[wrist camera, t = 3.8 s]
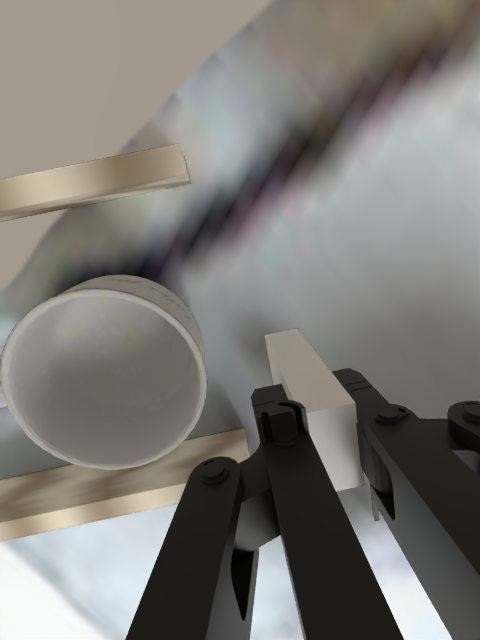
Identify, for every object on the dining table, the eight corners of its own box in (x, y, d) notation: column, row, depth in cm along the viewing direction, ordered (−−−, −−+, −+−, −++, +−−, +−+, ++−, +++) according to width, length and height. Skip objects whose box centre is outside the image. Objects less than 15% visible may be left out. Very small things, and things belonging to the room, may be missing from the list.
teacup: (213, 274, 25) (213, 296, 18) (204, 409, 28) (200, 479, 21) (8, 258, 24) (-87, 275, 16) (20, 401, 27) (-57, 473, 19)
